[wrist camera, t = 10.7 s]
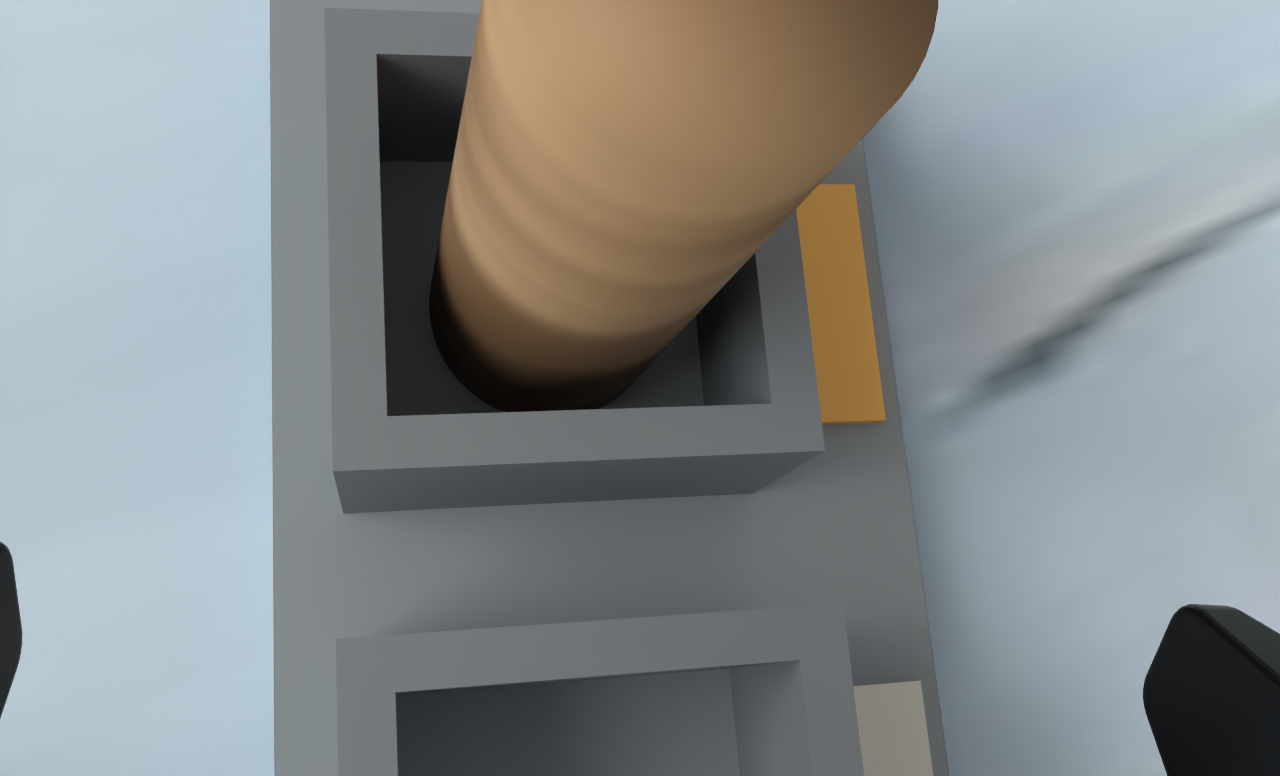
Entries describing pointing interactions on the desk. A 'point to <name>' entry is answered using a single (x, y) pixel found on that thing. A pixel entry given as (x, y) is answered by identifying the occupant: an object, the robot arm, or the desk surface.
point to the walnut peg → (639, 172)
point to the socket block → (570, 480)
